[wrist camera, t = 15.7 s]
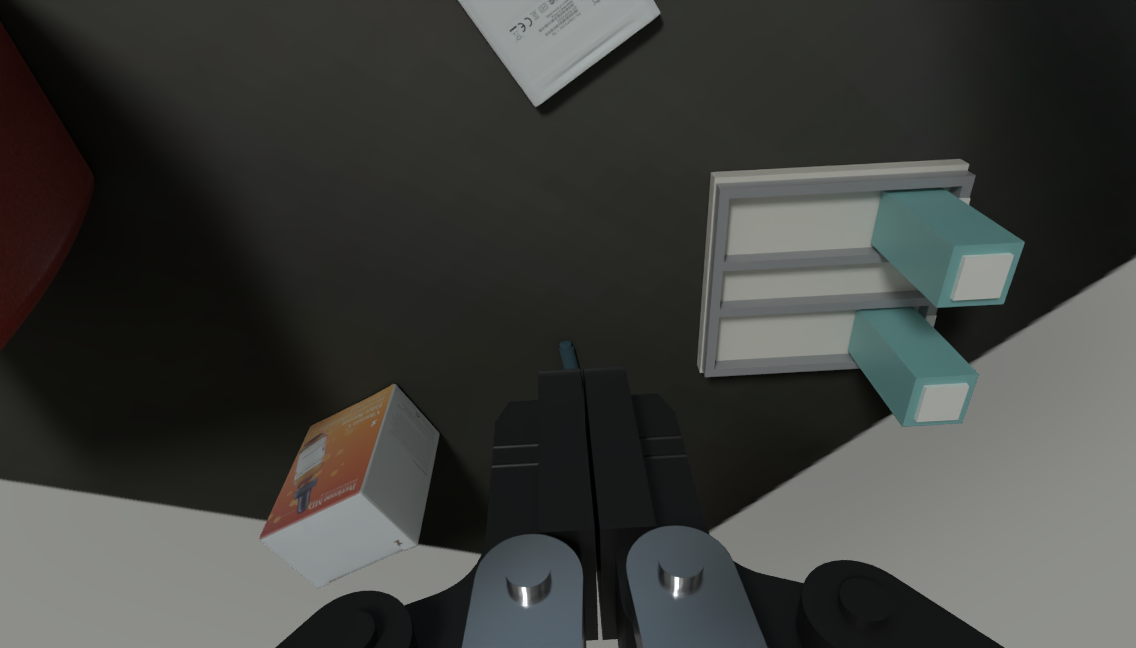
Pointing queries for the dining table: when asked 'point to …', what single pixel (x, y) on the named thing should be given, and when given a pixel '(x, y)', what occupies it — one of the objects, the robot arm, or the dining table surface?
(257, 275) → the dining table surface
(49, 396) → the dining table surface
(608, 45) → the external hard drive
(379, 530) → the small box
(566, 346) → the pen
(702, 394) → the dining table surface
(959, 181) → the switch board
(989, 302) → the tab
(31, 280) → the plant pot
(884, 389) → the tab
